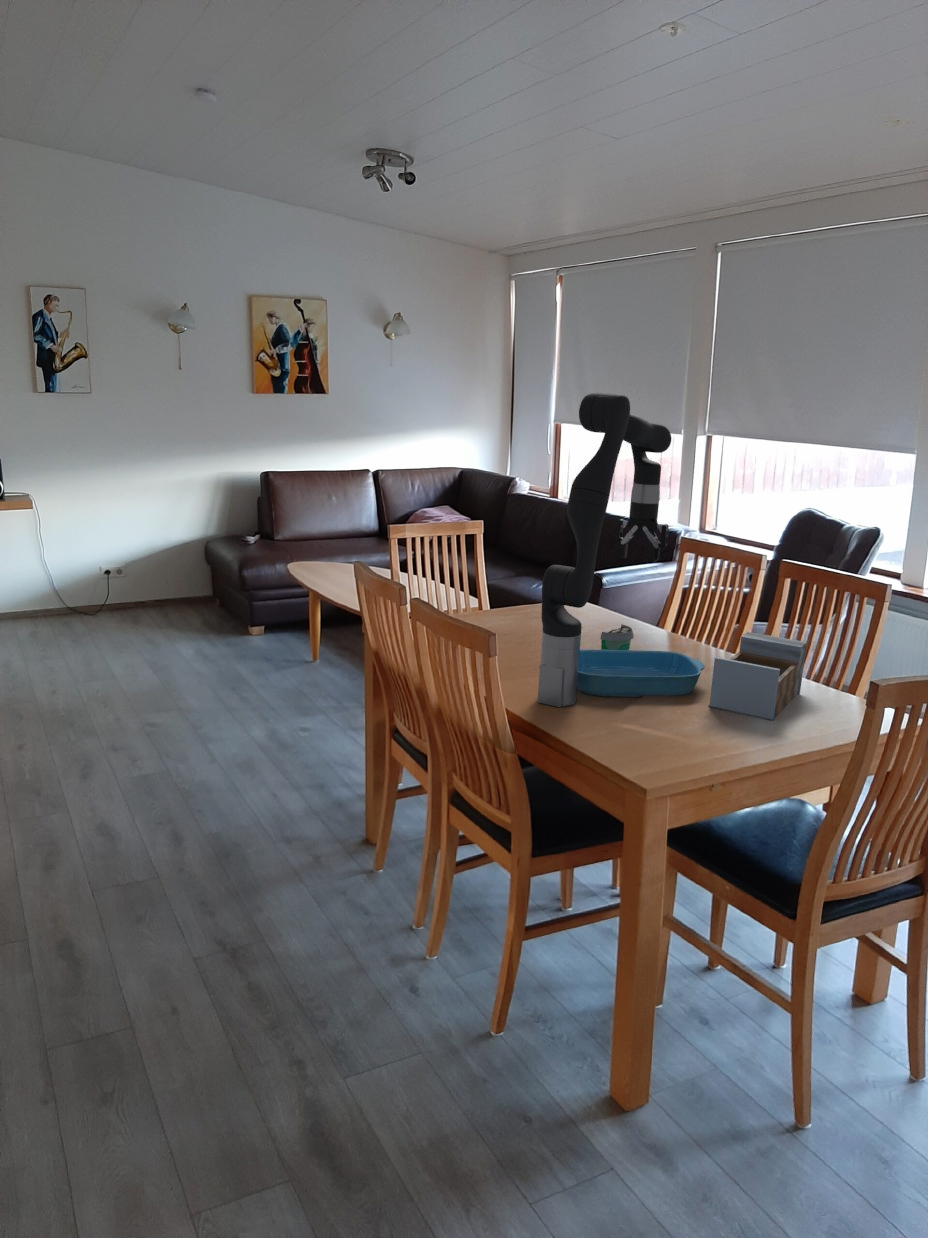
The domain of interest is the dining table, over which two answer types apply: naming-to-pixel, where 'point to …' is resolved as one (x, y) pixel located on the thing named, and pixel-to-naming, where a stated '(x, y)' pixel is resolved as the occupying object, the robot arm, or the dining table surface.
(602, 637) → the food container
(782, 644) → the box
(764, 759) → the dining table surface
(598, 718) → the dining table surface
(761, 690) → the panel
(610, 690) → the casserole dish
